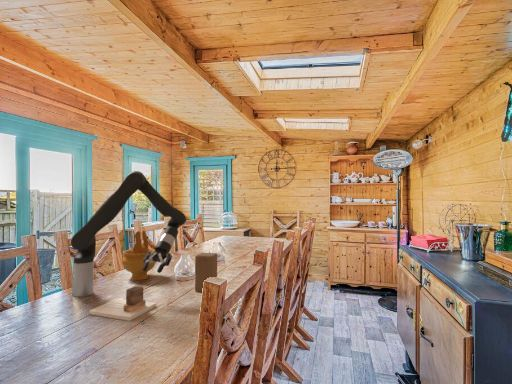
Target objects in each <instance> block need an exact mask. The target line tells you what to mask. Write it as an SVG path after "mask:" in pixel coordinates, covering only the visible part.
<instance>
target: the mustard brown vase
mask: <svg viewBox="0 0 512 384" xmlns="http://www.w3.org/2000/svg"><path fill="white" fill-rule="evenodd" d="M141 235H142V236H141ZM141 237H142V238H141ZM134 239H135V243H134V245H133V246H132V248H131V249H130V248H129V249H127V250H123V251H122V254H123V255H124V256H123V257H122V259H121V262H122V265H123V268H124V269H125V270H126V272H129V273H131V277H130V279H131V280H135V281H140V280H145V279H148V278H149V275H148V272H149V271H151V270H152V269H153V268H154V267H155V265H156V263H157V262H153V263H151V264H149V266H148V268H147V270H146V271H143V270H142V268H143V266H144V264H145V263H144V262H143V259H144V257H145V256H146V254H147V253H148V252H150V253H153V252H154V250H155V248H150V247H149V241H148V238H147V233H146V231H145V230H143V229H142V233H141V231H140V230H138V231H136V232H135V234H134ZM142 240H143V243H142ZM151 260H153V258H152V259H151ZM149 262H150V261H149Z"/></svg>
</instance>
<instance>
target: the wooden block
mask: <svg viewBox="0 0 512 384" xmlns="http://www.w3.org/2000/svg"><path fill="white" fill-rule="evenodd" d="M194 258H195V259H194V290H195V292H196V293H203V292H202V288H203V282H204V280H206V279H207V278H209V277H217V278H218V254H217V253H216V252H201V253H198V254H196V255H195V257H194Z"/></svg>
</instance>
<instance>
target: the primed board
mask: <svg viewBox="0 0 512 384" xmlns="http://www.w3.org/2000/svg"><path fill="white" fill-rule="evenodd" d="M124 305H126V298H125V297H124V298H123V297H118V298H115V299H113V300H111V301H108V302H107V303H104V304H101V305H100V306H97V307H95V308H92V309H90V310H89V311H88V314H89V315H93V316H97V317H98V316H99V317H104V318H110V319H117V320H122V321H128V322H131V321H132V320H134V319H135V318H138V317H140V316H141V315H143V314H145V313H147V312H149V311H150V310H152V309H154V308H155V307H157V302H152V301H146V302H145V306H143V307H141V308H140V309H138V310H136V311H134V312H126V311H124Z"/></svg>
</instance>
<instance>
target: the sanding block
mask: <svg viewBox="0 0 512 384" xmlns="http://www.w3.org/2000/svg"><path fill="white" fill-rule="evenodd" d="M125 299H126V305H124V311H126V312H134V311H136V310H138V309H140V308H141V307H143V306H145V302H147V301H146V299H144V286H138V285H135V286H132V287H130V288H127V289H126V291H125Z"/></svg>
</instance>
